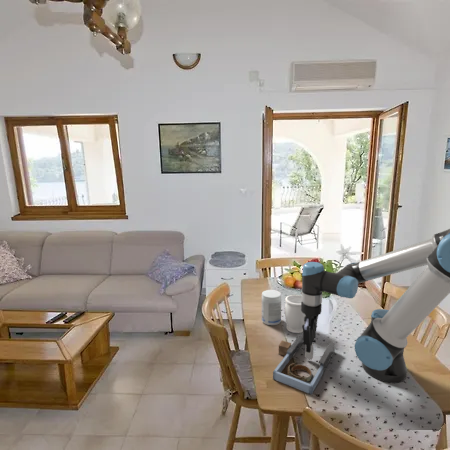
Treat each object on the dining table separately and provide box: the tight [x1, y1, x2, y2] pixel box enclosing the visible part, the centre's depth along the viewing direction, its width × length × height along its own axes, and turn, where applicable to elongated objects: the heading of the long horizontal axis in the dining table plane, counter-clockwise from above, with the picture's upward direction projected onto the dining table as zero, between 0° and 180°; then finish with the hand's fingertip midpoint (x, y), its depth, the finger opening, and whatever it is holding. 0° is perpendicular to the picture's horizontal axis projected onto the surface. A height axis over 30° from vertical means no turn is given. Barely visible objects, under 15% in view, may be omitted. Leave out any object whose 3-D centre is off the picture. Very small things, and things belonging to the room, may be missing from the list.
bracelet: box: [286, 362, 313, 383], centre depth 117 cm, size 9×9×3 cm
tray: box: [272, 354, 324, 395], centre depth 117 cm, size 13×14×3 cm
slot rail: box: [287, 332, 336, 373], centre depth 129 cm, size 16×14×4 cm
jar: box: [284, 294, 306, 334], centre depth 148 cm, size 11×10×15 cm
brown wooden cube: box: [278, 340, 292, 357], centre depth 131 cm, size 4×4×4 cm
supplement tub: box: [261, 289, 282, 326], centre depth 155 cm, size 10×10×15 cm
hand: (308, 357), depth 126 cm, fingers closed
